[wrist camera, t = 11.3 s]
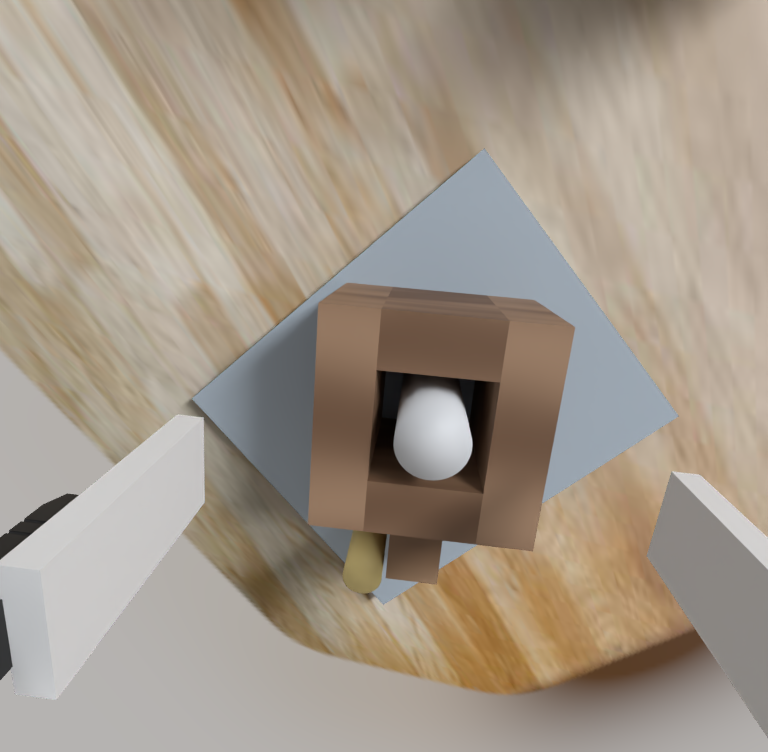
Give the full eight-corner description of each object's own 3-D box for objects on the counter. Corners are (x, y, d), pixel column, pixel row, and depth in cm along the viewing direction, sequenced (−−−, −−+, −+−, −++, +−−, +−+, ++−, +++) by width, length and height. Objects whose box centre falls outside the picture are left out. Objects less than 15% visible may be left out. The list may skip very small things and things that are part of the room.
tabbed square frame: (347, 282, 25) (318, 302, 18) (534, 299, 25) (575, 327, 18) (332, 518, 29) (304, 607, 22) (495, 537, 28) (516, 633, 22)
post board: (201, 391, 28) (100, 465, 20) (481, 152, 24) (514, 109, 15) (384, 590, 31) (368, 734, 22) (667, 407, 27) (787, 497, 18)
